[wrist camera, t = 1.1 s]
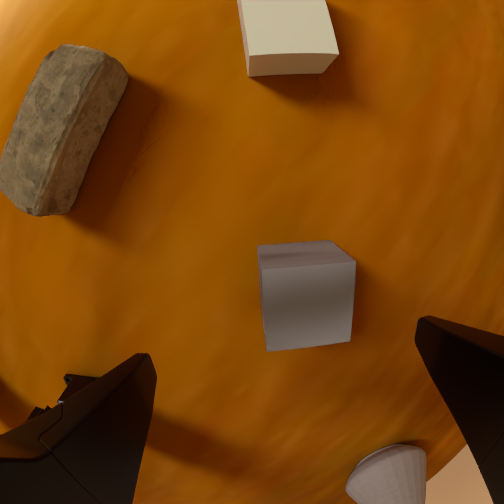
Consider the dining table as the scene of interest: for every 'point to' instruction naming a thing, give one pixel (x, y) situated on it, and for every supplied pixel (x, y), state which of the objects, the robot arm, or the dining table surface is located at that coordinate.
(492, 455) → the robot arm
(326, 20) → the beige brick
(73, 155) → the stone block
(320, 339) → the gray cube
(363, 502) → the coffee pot
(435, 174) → the dining table surface
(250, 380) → the dining table surface
